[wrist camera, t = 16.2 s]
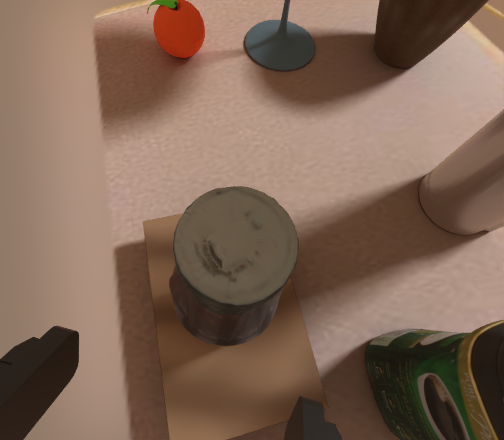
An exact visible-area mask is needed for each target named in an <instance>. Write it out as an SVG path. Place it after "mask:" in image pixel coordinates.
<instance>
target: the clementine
mask: <svg viewBox="0 0 504 440" xmlns="http://www.w3.org/2000/svg"><path fill="white" fill-rule="evenodd" d="M155 4H159V5H160V6H159V8H158V9H157V11H156V13H155V16H154V22H153V26H154V33H155V36H156V38H157V41H158V43H159V44H160V45H161V47H162V48H163V49H164V50H165V51H166V52H168V53H169V54H171V55H172V56H175V57H179V58H186V57H190V56H192V55H194V54H195V53H196V52H197V51H198V50H199V49H200V48H201V46H202V44H203V41H204V38H205V26H204V22H203V19H202V17H201V15H200V13H199V11H198V10H197V9H196V8H195V7H194V6H193V5H192V4H191V3H189V2H188V1H185V0H156V1H154V2H152V4H151V5H155ZM151 5H150V6H151ZM150 6H149V7H150ZM149 7H148V10H149ZM147 14H148V11H147Z"/></svg>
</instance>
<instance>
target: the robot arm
mask: <svg viewBox="0 0 504 440" xmlns="http://www.w3.org/2000/svg"><path fill="white" fill-rule="evenodd" d="M419 199H420V202H421V205H422V207H423V209H424V211H425V213H426V214H427V215H428V216H429V218H430V219H431V220H432V221H433V222H434V223H435V224H437V225H438V226H440V227H441V228H443V229H444V230H447V231H449V232H451V233H455V234H459V235H470V234H475V233H477V232H480V231H482V230H486V231H490V232H491V231H493V230H496V229H498V228H500V227H503V226H504V110H502V111H501V112H500V113H499V114H498V115H497V116H495V117H494V118H493V119H492V120H491V121H490V122H488V123H487V124H486V125H485V126H484V127H483V128H481V129H480V130H479V131H478V132H477V133H475V134H474V135H473V136H472V137H471V138H470V139H468V140H467V141H466V142H465V143H464V144H463V145H461V146H460V147H459V148H458V149H457V150H455V151H454V152H453V153H452V154H451V155H450V156H448V157H447V158H446V159H445V160H444V161H443V162H441V163H440V164H439V165H438V166H437V167H435V168H434V169H433V170H432V171H431V172H430V173H428V174H427V175H426V176H425V177H424V179H423V180H422V182H421V184H420V188H419ZM78 362H79V333H78V332H77V331H74V330H71V329H67V328H63V327H60V326H54V327H52V328H51V329H50V330H49V331H48V332H46V333H45V334H44V335H43V336H42V337H41V338H40V339H38V338H35V337H32V338H30V339H28V340H26V341H25V342H23V343H21V344H19V345H17V346H15V347H14V348H12V349H11V350H10V351H9V352H8V353H7V354H6V355H5V356H3V357H2V358H1V359H0V440H23V439H24V438H25V437H26V436H27V434H28V433H29V432H30V431H31V429H32V428H33V427H34V426H35V424H36V423H37V422H38V420H39V419H40V418H41V417H42V416H43V414H44V413H45V412H46V410H47V409H48V408H49V407H50V405H51V404H52V403H53V402H54V400H55V399H56V398H57V397H58V396H59V394H60V393H61V392H62V391H63V389H64V388H65V387H66V385H67V384H68V383H69V382H70V380H71V379H72V377H73V376H74V374H75V372H76V369H77V367H78ZM284 440H342V438H341V436H340V434H339V432H338V430H337V427H336V425H335V424H332V423H329V422H325V420H324V409H323V404H322V402H321V401H317V400H314V399H310V398H307V397H303V396H299V398H298V400H297V402H296V405H295V407H294V409H293V412H292V414H291V417H290V419H289V421H288V424H287V427H286V432H285V439H284Z"/></svg>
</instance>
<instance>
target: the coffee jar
mask: <svg viewBox="0 0 504 440" xmlns="http://www.w3.org/2000/svg"><path fill="white" fill-rule="evenodd" d="M366 366H367V371H368V375H369V379H370V383H371V386H372V389H373V392H374V395H375V398H376V401H377V404H378V406H379V408H380V411H381V413H382V415H383V418H384V419H385V421H386V424H387V425H388V427H389V428H390V430H391V431H392V432H393V433H394V434H395V435H396V436H397V437H398V438H399V439H401V440H504V320H500V321H496V322H493V323H490V324H487V325H485V326H482V327H480V328H478V329H476V330H475V331H473V332H472V333H457V332H443V331H433V330H423V329H405V330H397V331H392V332H389V333H386V334H383V335H381V336H379V337H377V338H375V339H374V340H373V341H372V342H371V343H370V344H369V346H368V348H367V351H366Z"/></svg>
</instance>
